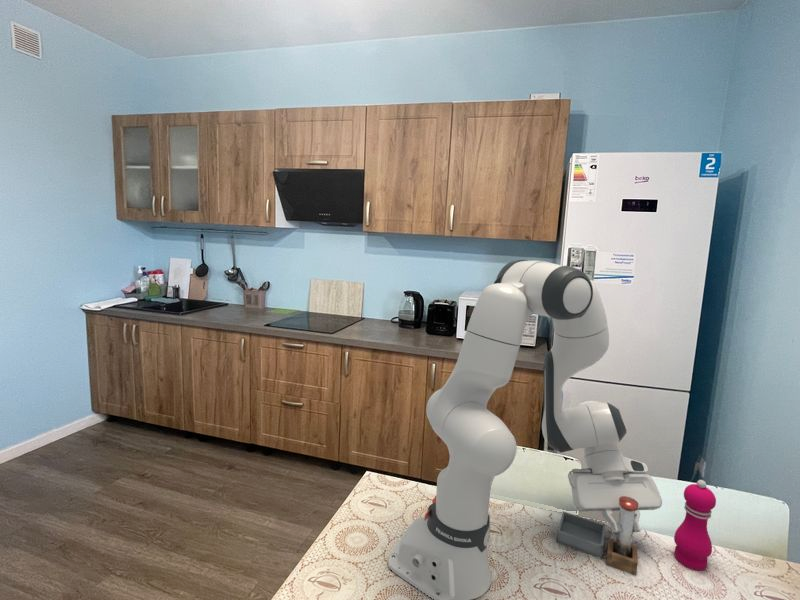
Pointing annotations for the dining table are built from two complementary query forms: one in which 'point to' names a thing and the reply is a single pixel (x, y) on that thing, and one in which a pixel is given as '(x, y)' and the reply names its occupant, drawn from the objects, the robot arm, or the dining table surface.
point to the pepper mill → (695, 527)
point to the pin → (626, 525)
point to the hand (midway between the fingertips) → (626, 532)
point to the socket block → (622, 558)
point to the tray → (581, 534)
